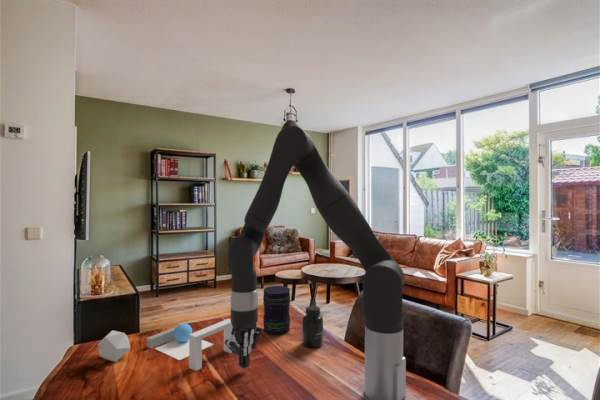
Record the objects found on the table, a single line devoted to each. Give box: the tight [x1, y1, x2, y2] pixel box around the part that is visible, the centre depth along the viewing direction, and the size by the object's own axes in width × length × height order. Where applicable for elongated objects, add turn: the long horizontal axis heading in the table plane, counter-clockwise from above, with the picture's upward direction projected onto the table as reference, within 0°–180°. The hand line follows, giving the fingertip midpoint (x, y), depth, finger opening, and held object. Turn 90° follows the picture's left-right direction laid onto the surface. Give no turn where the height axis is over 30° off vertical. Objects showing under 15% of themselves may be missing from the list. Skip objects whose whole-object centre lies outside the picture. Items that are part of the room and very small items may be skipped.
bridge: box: [188, 318, 233, 372], centre depth 103 cm, size 3×15×10 cm, turn 145°
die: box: [97, 330, 131, 363], centre depth 103 cm, size 8×9×10 cm
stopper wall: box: [146, 326, 177, 349], centre depth 116 cm, size 2×14×3 cm, turn 145°
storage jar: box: [262, 285, 291, 337], centre depth 124 cm, size 10×10×15 cm
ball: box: [174, 322, 193, 342], centre depth 115 cm, size 6×6×6 cm
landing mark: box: [154, 339, 214, 361], centre depth 111 cm, size 13×13×1 cm
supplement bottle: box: [302, 305, 324, 349], centre depth 113 cm, size 7×7×12 cm
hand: (244, 366), depth 95 cm, fingers closed
